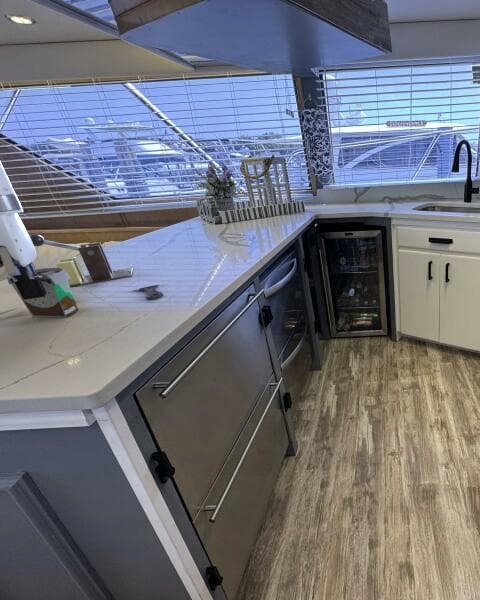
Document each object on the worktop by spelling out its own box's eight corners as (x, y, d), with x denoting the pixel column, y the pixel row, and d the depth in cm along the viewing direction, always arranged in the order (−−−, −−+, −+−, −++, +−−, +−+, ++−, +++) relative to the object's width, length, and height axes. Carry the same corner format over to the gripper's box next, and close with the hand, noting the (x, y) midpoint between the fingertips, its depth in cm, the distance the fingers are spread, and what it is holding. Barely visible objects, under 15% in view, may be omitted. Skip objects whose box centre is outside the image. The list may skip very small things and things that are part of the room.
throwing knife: (145, 301, 79) (144, 298, 79) (134, 283, 93) (133, 281, 92) (166, 295, 82) (165, 293, 82) (152, 279, 95) (151, 277, 95)
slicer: (70, 290, 89) (51, 252, 85) (76, 281, 96) (59, 246, 92) (133, 279, 96) (119, 243, 92) (134, 271, 104) (121, 238, 100)
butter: (66, 285, 89) (55, 264, 86) (71, 278, 95) (61, 258, 92) (80, 283, 91) (70, 262, 88) (84, 276, 97) (75, 256, 94)
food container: (99, 306, 78) (81, 266, 74) (72, 317, 72) (51, 275, 68) (56, 305, 79) (37, 266, 75) (27, 316, 74) (4, 275, 70)
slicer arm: (24, 245, 84) (26, 233, 83) (27, 243, 86) (29, 232, 86) (96, 258, 93) (99, 248, 92) (98, 256, 95) (100, 246, 95)
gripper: (-25, 203, 63) (20, 290, 70) (-61, 212, 52) (-4, 314, 59) (30, 201, 67) (66, 283, 74) (7, 208, 56) (53, 304, 63)
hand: (35, 296), depth 67 cm, fingers closed
